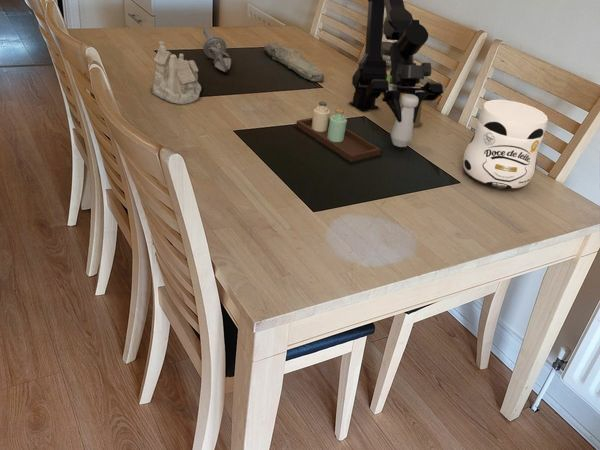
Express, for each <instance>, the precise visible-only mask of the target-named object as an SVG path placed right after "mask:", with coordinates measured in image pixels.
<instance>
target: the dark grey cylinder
mask: <svg viewBox="0 0 600 450" xmlns="http://www.w3.org/2000/svg"><path fill="white" fill-rule="evenodd" d="M393 43H394V42H393V41H382V48H381V56H382V58H383V60H385V61H386V72H387V79H386V80H387V81H388V84H392V76H390V71H391V57H390V55H389V54H388V53H389V50H390V47H391V45H392V44H393Z"/></svg>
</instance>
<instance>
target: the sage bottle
mask: <svg viewBox="0 0 600 450" xmlns="http://www.w3.org/2000/svg"><path fill="white" fill-rule="evenodd" d="M344 112H345V111H344V109H341V108H337V109H336V110H335V114H333V115H332V116H329V118H330V123H329V129H328V136H327V138H328V139H329V140H330V141H333V142H342V141H343V140H344V134H345V128H347V123H348V120H347V118H346V117H345V115H344V114H345V113H344Z"/></svg>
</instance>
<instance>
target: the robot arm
mask: <svg viewBox="0 0 600 450" xmlns="http://www.w3.org/2000/svg"><path fill="white" fill-rule="evenodd" d="M367 2H368V4H367V5H368V6H367V7H368V8H367V20H366V36H365V48H364V55H363V56H362V58H361V59H360V61H359V62H358V67H357V69H356V71H355V72H354V74H353V75H352V78H351V84H352V86H353V88H354V89H355V90H354V92H353V98H352V101H349V105H350V106H352V107H354V108H356V109H358V110H359V111H361V112H366V111H371V110H377V109H378V108H379V106H378V105H376V100H377V99H378V98H379V97H380V96H381V94H382V95H383V97H382V99H381V101H382V102H385V103H386V105H387V106H388V107H389V108H390V110H391V112H392V113H393V115H394V117H395V120H396V119H397V120H398V122H399V123H400V122H401V121H402V115H401V94H403V95H405V94H412V95H415V96H417V97H418V99H419V102H418V105H417V106H416V107H415V108H414V119H413V123H415V121H416V117H417V114H418V110H419V107H420V104H421V102H422V103H423V102H424V101H425V102H428V101H429V102H434V101H436V100H437V99H438V98H439V97H440V96H441V95H442V94H444V86H443V84H442V83H441V82H438V81H437V82H436V81H427V82H425V84H424V85H423V86H421V87H420V85H417V84H419V83H420V82H421V80H425V77H426V78H427V77H431V75H432V64H431V62H421V64H420V65H419V64H417V63H416V62H415V61H414V55H416V54H417V53H418V52H419V51H420V50H421V48H422V47H423V46H424V45H425V44H426V42H427V41H428V40H429V32H428V30H427V29H426V27H425V26H423V24H420V23H421V22H420V19H414V16H413V15H412V13H411V12H410V11H408V10H407V9H406V7H405V1H404V0H367ZM385 11H386V19H385ZM384 19H385V20H384ZM384 21H385V22H384ZM383 35H384V37H385V39H386V40H387V41H394V42H393V44H392V45H391V47H390V50H389V53H388V54H389V55H390V57H391V71H390V76H392V84H388V81H387V80H386V79H387V72H386V61H385V60H383V58H382V56H381V48H382V42H383Z"/></svg>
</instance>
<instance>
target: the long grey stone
mask: <svg viewBox="0 0 600 450" xmlns="http://www.w3.org/2000/svg"><path fill="white" fill-rule="evenodd" d="M263 50H264V51H265V52H266V53H267V54H268V55H269V57H271V60H275V61H277V62H279V64H282V65H285V66H286V67H287V69H289V70H292V71H293V72H294V73H295V74H296V75H298V76H299V77H301V78H304V79H306V80H308V81H311V82H323V80H324V77H325V76H324V72H323V70H322V69H320V68H319V67H317V65H315V64H314V63H312V62H310V61H309V60H307V59H306V58H305V57H303V56H302V54H301V53H300V52H299V51H297V50H295V49H293V48H291V47H290V46H289V47H288V46H286V45H283V44H280V43H278V42H271V41H267V42H266V43H264V48H263Z"/></svg>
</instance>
